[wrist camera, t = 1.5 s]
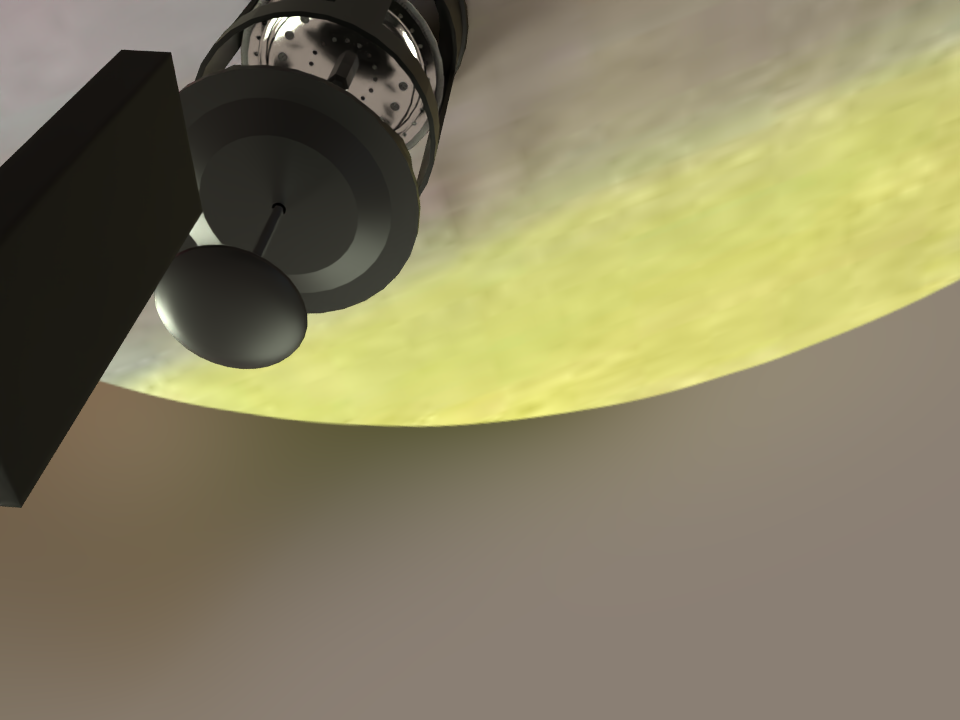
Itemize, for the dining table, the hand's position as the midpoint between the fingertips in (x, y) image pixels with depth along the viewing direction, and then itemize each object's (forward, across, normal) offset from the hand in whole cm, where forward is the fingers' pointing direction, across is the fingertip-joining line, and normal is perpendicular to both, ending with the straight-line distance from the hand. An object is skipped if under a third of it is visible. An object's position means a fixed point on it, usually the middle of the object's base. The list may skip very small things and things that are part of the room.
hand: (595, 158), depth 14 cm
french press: (+29, -9, -9) cm, 32 cm away
